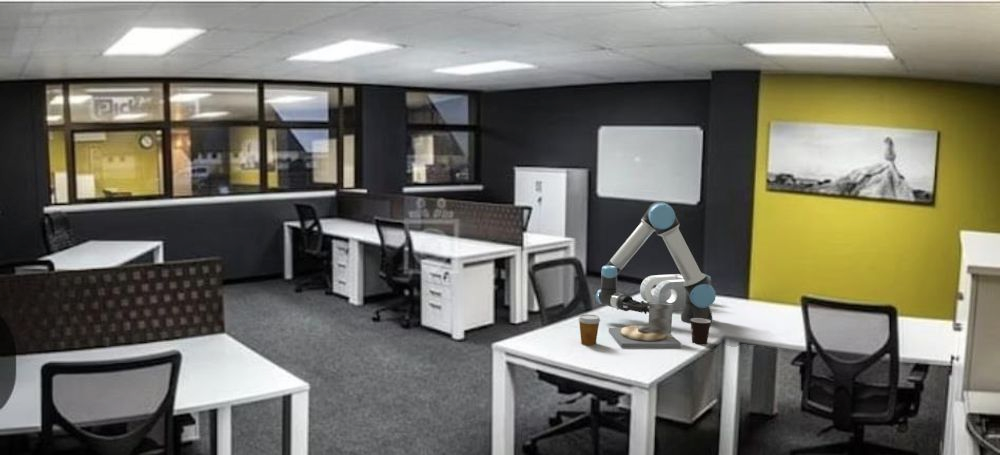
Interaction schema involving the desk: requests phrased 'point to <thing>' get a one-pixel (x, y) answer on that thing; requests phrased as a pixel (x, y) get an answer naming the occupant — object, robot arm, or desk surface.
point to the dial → (652, 324)
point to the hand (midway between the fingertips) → (659, 312)
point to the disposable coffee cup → (588, 328)
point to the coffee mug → (700, 330)
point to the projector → (664, 290)
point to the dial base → (631, 343)
